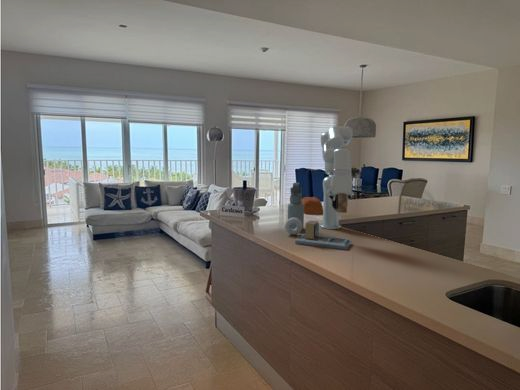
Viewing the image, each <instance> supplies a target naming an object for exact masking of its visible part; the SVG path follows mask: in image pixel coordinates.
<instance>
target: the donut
mask: <svg viewBox="0 0 520 390" xmlns="http://www.w3.org/2000/svg"><path fill="white" fill-rule="evenodd" d="M292 224H296V226H297V227H296V228H295V229H292V228H291V225H292ZM302 227H303V226H302V222H301V221H300V220H299V219H298V218H290V219H288V218H287V220H286V221H285V223H284V230H285V231H286V233H287V234H289V235H291V236H296V235H299V234H300V233H301V231H303V229H302ZM303 228H304V227H303Z"/></svg>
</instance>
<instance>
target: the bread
mask: <svg viewBox="0 0 520 390" xmlns="http://www.w3.org/2000/svg"><path fill="white" fill-rule="evenodd" d="M301 203H302V204H303V205H304V215H323V203H322V201H321V200H320V199H319V198H317V197H316V196H311V197H310V196H305V197H303V198H302V199H301Z"/></svg>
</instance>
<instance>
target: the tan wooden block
mask: <svg viewBox="0 0 520 390" xmlns="http://www.w3.org/2000/svg"><path fill="white" fill-rule="evenodd" d="M335 201H336V208H334V211H336V212H338V213H340V214H341V213H343V214H344V213H345V214H346V213H348V212H347V211H348V201H347V195H336V198H335Z"/></svg>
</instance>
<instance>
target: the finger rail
mask: <svg viewBox="0 0 520 390" xmlns="http://www.w3.org/2000/svg"><path fill="white" fill-rule="evenodd" d="M294 241H295V243H294V244H295V245H303V246H311V247H312V246H313V247H321V248H329V249H334V250H335V249H336V250H344V251H347V250H348V249H349V248H350V246H351V245H352V240H350V238H346V237H345V238H344V237H335V236H327V235H320V223H319V220H309V221H307V222H305V233H302V234H301V236H299V237H296V238H295V240H294Z"/></svg>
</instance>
